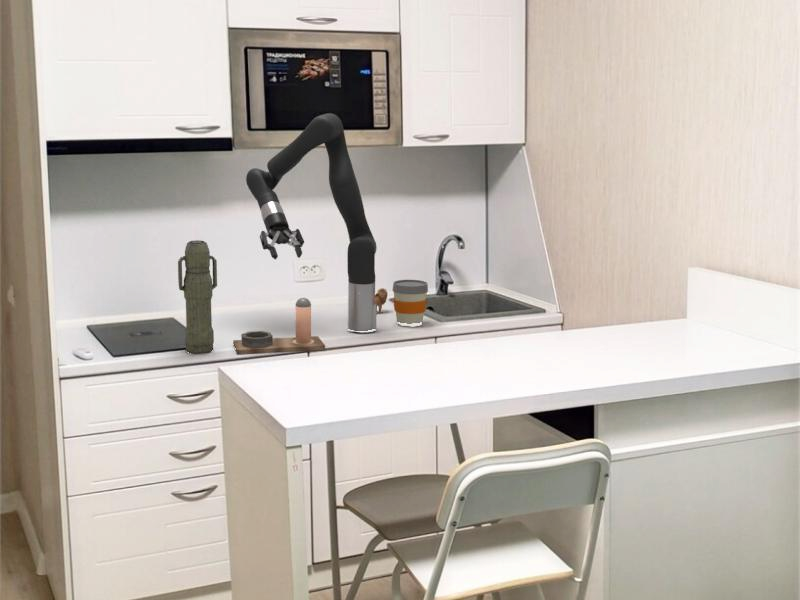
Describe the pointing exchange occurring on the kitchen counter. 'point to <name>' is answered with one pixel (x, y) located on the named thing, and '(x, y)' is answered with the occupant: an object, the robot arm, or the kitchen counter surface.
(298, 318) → the round-topped orange cylinder
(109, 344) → the kitchen counter surface
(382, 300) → the lion figurine
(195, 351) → the thermos
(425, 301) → the reusable coffee cup
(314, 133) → the robot arm
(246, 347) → the jig
